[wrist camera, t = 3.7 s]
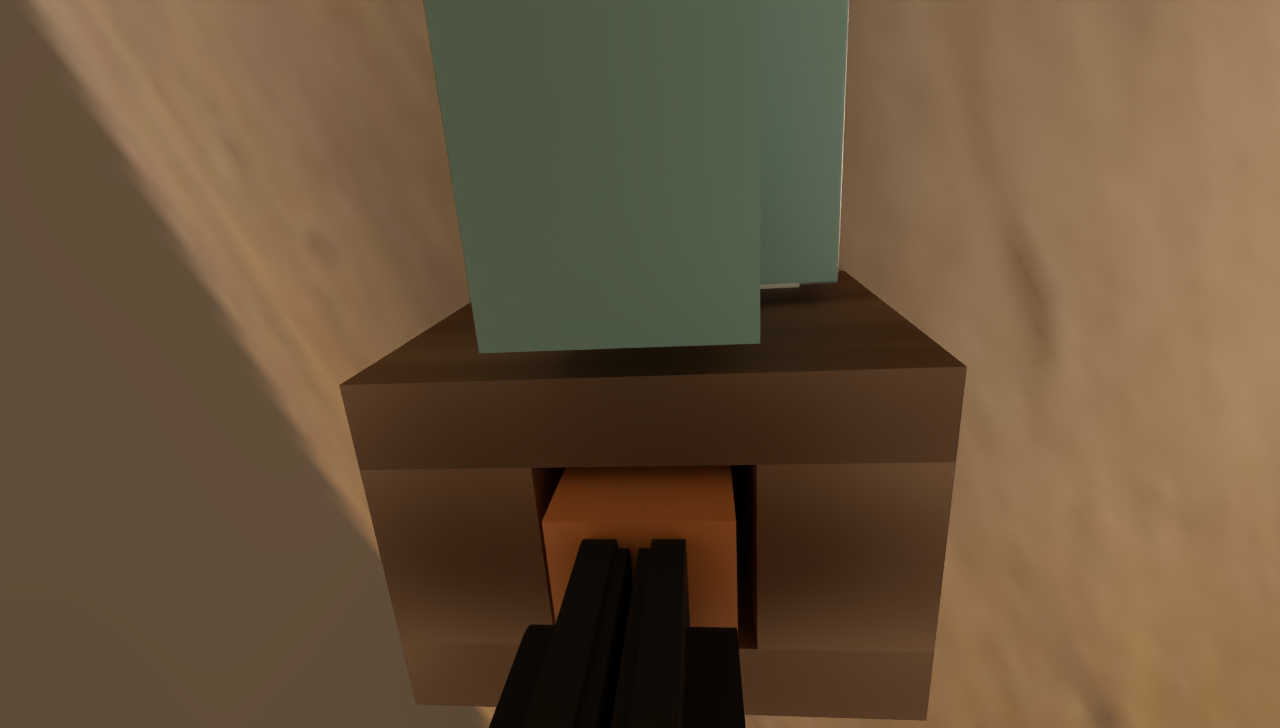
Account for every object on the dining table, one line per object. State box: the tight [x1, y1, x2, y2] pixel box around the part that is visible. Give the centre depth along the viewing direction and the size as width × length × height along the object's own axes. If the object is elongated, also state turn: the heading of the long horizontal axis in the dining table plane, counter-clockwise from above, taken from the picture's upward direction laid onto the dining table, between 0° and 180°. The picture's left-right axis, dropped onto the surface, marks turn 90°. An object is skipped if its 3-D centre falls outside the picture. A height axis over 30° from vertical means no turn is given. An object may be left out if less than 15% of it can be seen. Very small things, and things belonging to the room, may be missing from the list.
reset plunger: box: [542, 465, 738, 633], centre depth 13 cm, size 3×3×8 cm
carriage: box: [423, 0, 848, 353], centre depth 10 cm, size 6×8×8 cm
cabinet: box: [339, 271, 967, 720], centre depth 14 cm, size 7×10×8 cm
